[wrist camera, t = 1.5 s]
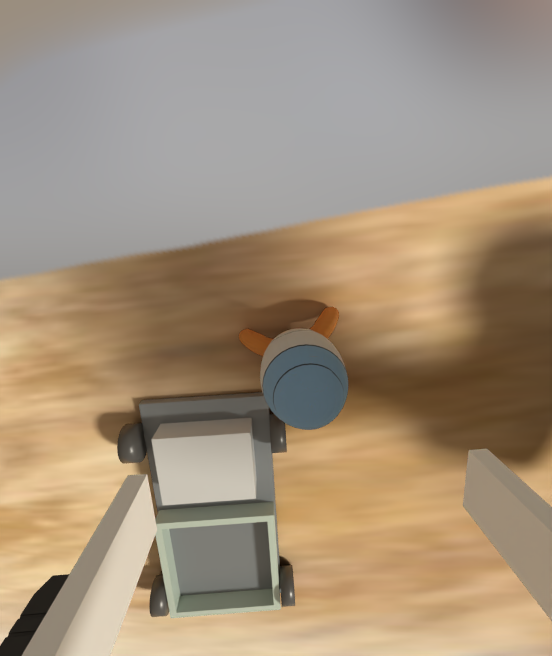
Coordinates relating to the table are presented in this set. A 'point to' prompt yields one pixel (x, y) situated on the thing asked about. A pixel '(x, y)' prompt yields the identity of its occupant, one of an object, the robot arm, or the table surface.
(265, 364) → the toy rocket
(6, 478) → the table surface
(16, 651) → the robot arm
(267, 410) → the toy truck
